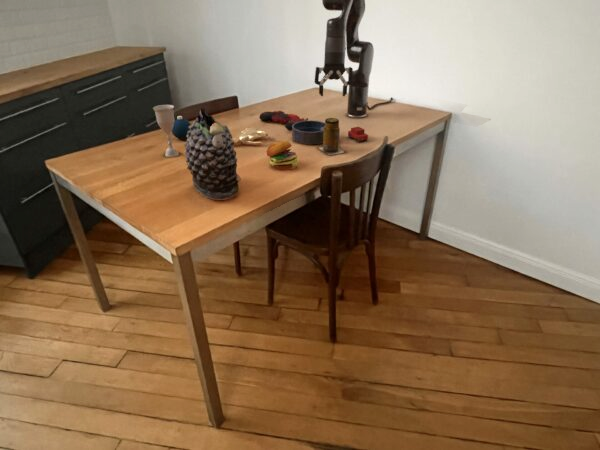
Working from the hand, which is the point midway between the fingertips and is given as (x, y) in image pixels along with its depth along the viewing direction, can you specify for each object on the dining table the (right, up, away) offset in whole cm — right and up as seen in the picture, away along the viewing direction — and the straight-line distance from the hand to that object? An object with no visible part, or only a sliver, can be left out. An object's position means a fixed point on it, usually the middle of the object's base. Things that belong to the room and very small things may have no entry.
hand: (332, 95), depth 157 cm
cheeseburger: (-19, -29, -10) cm, 36 cm away
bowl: (-8, -14, +13) cm, 21 cm away
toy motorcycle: (-19, -3, +31) cm, 36 cm away
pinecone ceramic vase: (-40, -39, -27) cm, 61 cm away
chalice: (-62, -23, -1) cm, 66 cm away
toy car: (+11, -14, +13) cm, 22 cm away
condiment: (0, -21, +2) cm, 21 cm away
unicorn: (-34, -15, +11) cm, 39 cm away
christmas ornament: (-62, -14, +13) cm, 65 cm away
